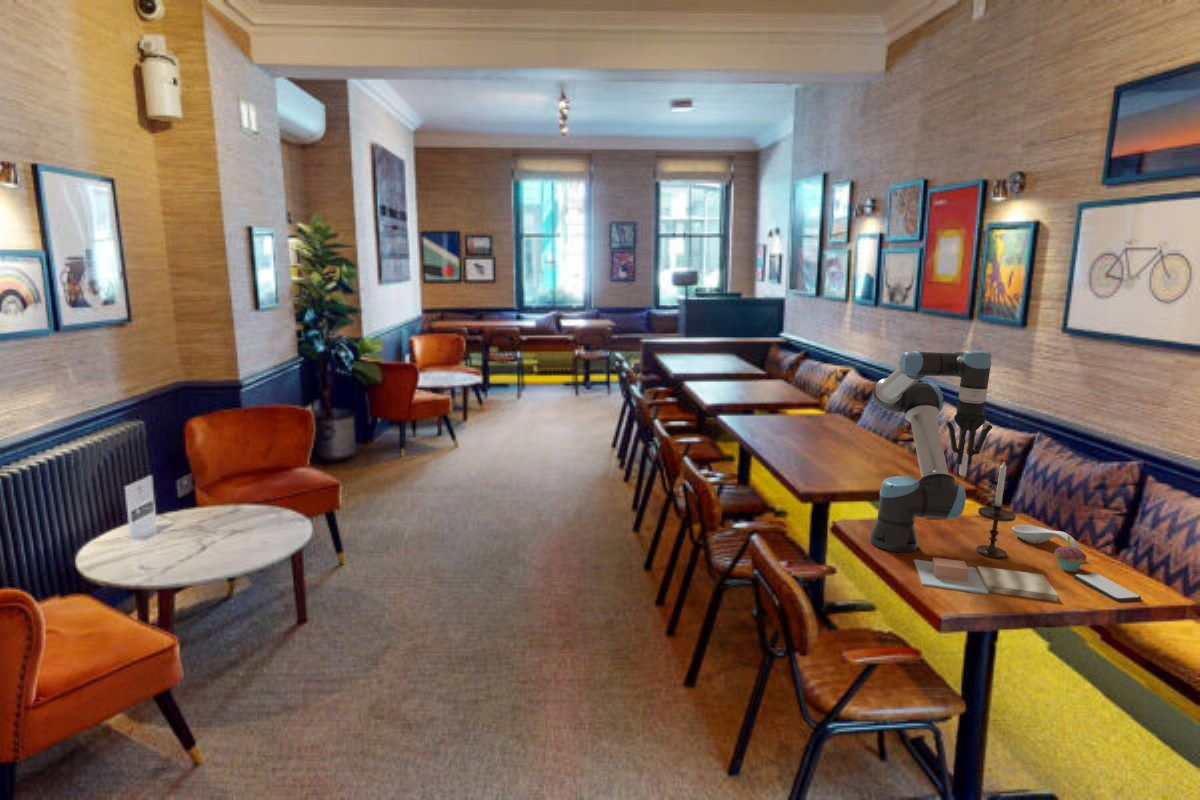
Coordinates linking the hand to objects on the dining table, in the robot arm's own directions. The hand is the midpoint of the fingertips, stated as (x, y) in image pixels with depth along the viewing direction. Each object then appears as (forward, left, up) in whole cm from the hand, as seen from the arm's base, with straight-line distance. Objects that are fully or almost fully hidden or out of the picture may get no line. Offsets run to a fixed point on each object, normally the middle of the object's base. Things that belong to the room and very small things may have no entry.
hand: (962, 474), depth 215 cm
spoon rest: (+35, +28, -31) cm, 55 cm away
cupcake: (+36, +10, -31) cm, 48 cm away
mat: (-2, -10, -30) cm, 32 cm away
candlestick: (+15, +15, -31) cm, 37 cm away
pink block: (-2, -10, -30) cm, 32 cm away
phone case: (+42, -2, -31) cm, 52 cm away
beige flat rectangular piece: (+16, -10, -30) cm, 36 cm away
